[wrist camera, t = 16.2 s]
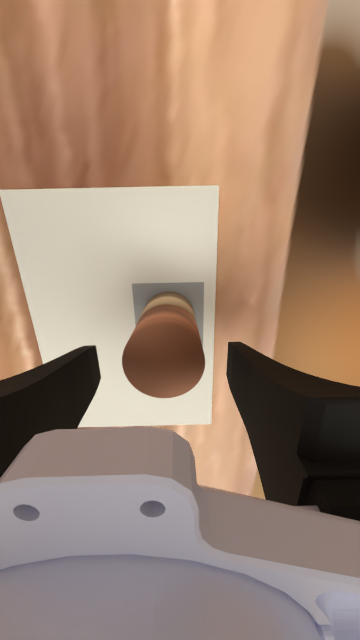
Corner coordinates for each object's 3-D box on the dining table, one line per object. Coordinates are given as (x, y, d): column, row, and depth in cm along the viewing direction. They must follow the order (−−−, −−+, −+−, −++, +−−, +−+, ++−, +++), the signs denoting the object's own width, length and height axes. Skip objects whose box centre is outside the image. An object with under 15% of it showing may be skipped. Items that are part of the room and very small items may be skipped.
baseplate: (6, 192, 17) (-2, 189, 16) (217, 187, 17) (219, 185, 16) (63, 421, 24) (59, 428, 23) (210, 418, 24) (211, 424, 23)
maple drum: (135, 302, 19) (124, 317, 15) (183, 283, 18) (184, 293, 14) (156, 346, 20) (150, 369, 16) (201, 329, 20) (206, 349, 16)
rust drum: (122, 332, 15) (104, 361, 12) (168, 290, 14) (165, 306, 11) (166, 373, 16) (162, 411, 13) (211, 336, 15) (222, 365, 12)
